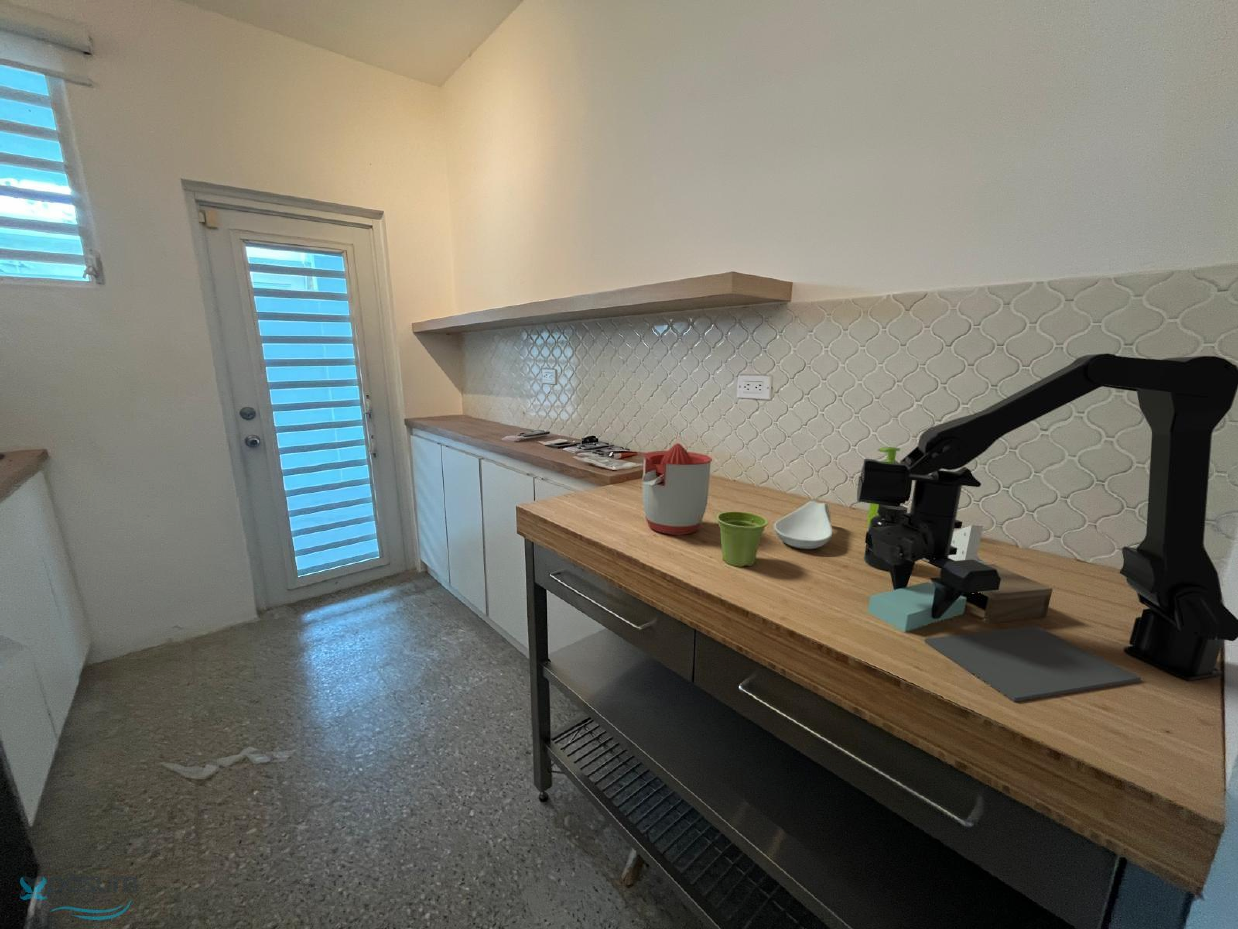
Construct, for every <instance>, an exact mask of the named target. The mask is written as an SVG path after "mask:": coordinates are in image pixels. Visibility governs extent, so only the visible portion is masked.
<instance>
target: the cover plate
mask: <svg viewBox="0 0 1238 929" xmlns="http://www.w3.org/2000/svg"><path fill="white" fill-rule="evenodd" d="M934 592H935V586H934V584H933V583H932V582H930V581H926V582H922V583H918V584H914V585H910V586H907V587H904V588H900V589H896V590H894V589H893V590H888V591H884V592H881V593H875V594H873V595H869V603H868V608H867V613H869V614H871V615H873V616H875V617H877V618H878V619H879V620H882V621H884V622H885V623H887V624H889V625H891V626H893V627H894V628H896V629H899V630H900V631H902V632H904V633H907V632H909V631H913V630H916V629H920V628H923V627H926V626H929V625H928V624H930V623H933V624H936V623H938V622H937V621H939V622H941V621H940V620H943V619H946V620H948V619H947V618H949V619H951V618H950V617H952V618H954V617H953V616H956V617H958V616H957V615H959V616H961V615H960V614H962V615H964V614H965V610H966V603H967V598H968V597H966V596H964V595H961V596H960V597H959V598H958V599H957V600H956V601H955V602H954V603H953V604H952V605H951V606H950V607H949V609H948V610H947V611H946V612H945V613H944V614H943V615H942V616H941V617H940V618H939V619H933V618H932V605H933V599H934ZM963 613H964V614H963ZM943 621H944V620H943ZM935 622H936V623H935ZM930 625H931V624H930ZM922 626H923V627H922ZM919 627H920V628H919Z"/></svg>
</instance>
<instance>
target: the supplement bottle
mask: <svg viewBox="0 0 1238 929" xmlns="http://www.w3.org/2000/svg"><path fill="white" fill-rule="evenodd" d="M903 513H908V508H907V507H906V506H903V505H902V504H900V506H899V507H896V506H888V505H880V504H879V506H878V510H877V514H878V516H875V517H873V518H872V519H871V520H870V524H869V528H868V530H869V529H870V528H871V527H886V526H897V525H899V523H900V520H901V516H903ZM863 559H864V562H865V563H866V564H867V565H869V567H873V568H876V569H879V570H881V571H887V572H890V571H889V568H888V564H887V562H886V561H885V560H884V559H883V558H881V557H877V556H876V555H875V554H874V548H873V547H872V546H870V545H868V544H866V543H865V549H864V555H863Z"/></svg>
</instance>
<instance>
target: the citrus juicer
mask: <svg viewBox="0 0 1238 929" xmlns="http://www.w3.org/2000/svg"><path fill="white" fill-rule="evenodd" d="M642 458H643V473H642V478H641V482H642V506H643V510H644V514H645V519H646V522H647V524H648V527H649V528H650V529H652V530H654V531H655V532H658V533H663V534H669V535H672V536H679V535H688V534H692V533H695V532H697V531H698V530H699V528H700V526H701V525H702V521H703V518H704V515H705V513H706V510H707V506H708V499H709V487H710V475H711V474H710V473H711V463H712V461H713V459H712V458H711V457H710V456H709V455H707V454H702V453H697V452H690V451H687V450H686V449H685V447H683V445H682V444H680V443H676V444H675V443H674V445H673V446H671V447H670V449H669V450H656V451H648V452H645V453H643V455H642Z"/></svg>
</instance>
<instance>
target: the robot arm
mask: <svg viewBox="0 0 1238 929" xmlns="http://www.w3.org/2000/svg"><path fill="white" fill-rule="evenodd" d="M1101 387H1104V388H1110V389H1116V390H1122V391H1130V392H1131V391H1132V392H1136V395H1137V400H1138V405H1139V409H1140V411H1141V413H1142V415H1143V416H1144V419H1145V420H1146V422H1147V423H1148V425H1149V428H1150V430H1151V441H1150V442H1151V446H1150V463H1149V478H1148V480H1149V482H1148V496H1147V512H1146V513H1147V514H1146V516H1147V517H1146V530H1145V531H1146V533H1145V537H1144V539H1143V540H1142V541H1141V542H1140V543H1139V544H1138V545H1137V547H1130V546H1122V549H1121V552H1122V553H1121V554H1122V559H1123V562H1122V563H1123V564H1122V568H1120V570H1119V574H1120V575H1121V576H1122V577H1125V579H1126V583H1127V585H1128V586H1129V587H1130V588H1131V589H1133V591H1135V592H1136V594H1137V599H1138V602H1139V603H1140V604H1141V605H1144V606H1146V607H1147V608H1144V609H1142V612H1141V616H1137V617H1135V620H1134V623H1133V627H1132V630H1131V634H1130V637H1129V640H1128V644H1129V645H1130V646H1129V645H1128V646H1124V647H1123V649H1122V650H1123V651H1124V652H1125V653H1126V654H1129V655H1131V656H1132V657H1135V658H1138V659H1140V660H1142V661H1144V662H1146V663H1149V664H1151V665H1153V666H1155V667H1156V668H1159V669H1161V670H1164V671H1165V672H1168V673H1169V674H1172V675H1174V676H1176V677H1178V678H1181V679H1182V680H1186V681H1194V680H1199V679H1206V678H1211V677H1212V678H1213V677H1218V676H1221V675H1222V673H1223V672H1222V670H1220V669H1218V668H1217V667H1216V664H1217V661H1218V657H1219V656H1220V651H1221V649H1222V646H1223V643H1224V641H1230V642H1234V641H1236V640H1237V639H1238V618H1237V617H1236V616H1235V615H1234V614H1233V613H1232V612H1231V611H1230V610H1229V609H1228V608H1227V607H1226V606H1225V605H1224V604H1223V603H1222V600H1223V594H1222V588H1221V582H1220V578H1219V573H1218V571H1217V569H1216V567H1215V565H1214V563H1213V561H1212V559H1211V558H1210V555H1209V553H1208V552H1207V550H1206V547H1205V532H1206V530H1205V529H1206V518H1207V517H1206V516H1207V507H1208V506H1207V505H1208V492H1209V490H1208V489H1209V477H1210V467H1211V466H1210V465H1211V450H1212V441H1213V440H1212V437H1213V433H1214V431H1215V428H1216V427H1217V426H1218V425H1219V424H1220V423H1221V422H1222V420H1223V418H1224V417H1225V416H1226V415H1227V414H1228V412H1230V410H1231V408H1233V404H1234V401H1235V397H1236V394H1237V392H1238V365H1236V364H1234V363H1232V362H1231V361H1229V360H1227V359H1226V358H1223V357H1219V356H1216V355H1200V356H1199V355H1195V356H1180V357H1179V356H1177V357H1168V358H1167V357H1166V358H1161V359H1156V358H1142V357H1130V356H1120V355H1116V354H1112V353H1108V352H1107V353H1097V354H1096V353H1095V354H1086V355H1083V356H1080V357H1077V358H1076V359H1075V360H1074V361H1073V362H1071V363H1070V364H1068V365H1066V366H1064V367H1063V368H1061V369H1059V370H1057V371H1055V372H1053V373H1051V374H1050V375H1048V376H1045V377H1043V378H1042V379H1040V380H1038V381H1036V382H1034V383H1032V384H1030V385H1029V386H1027V387H1025V388H1022V389H1021V390H1019V391H1017V392H1015V393H1014V394H1011V395H1009V396H1007V397H1006V398H1003V399H1001V400H1000V401H997V403H996V402H995V403H994V404H992V405H990V406H988V407H986V408H985V409H983V410H981V411H977V412H975V413H972V414H969V415H965V416H961V417H958V418H954V419H951V420H949V421H946V422H943V423H940V424H937V425H934V426H932V427H929V428H928V429H926V430H925V431H924V432H922V433H921V435H920V437H919V441H918V442H917V446H916V447H915V448H914V449H912V450H911V451H910V452H909V453H908V454H907V455H905V456H904V457H903V458H902V459H901V460H900V461H899V463H893V462H882V461H883V460H882V461H881V460H878V459H877V460H876V459H872V458H865V459H864V460H863V465H862V468H861V472H860V475H859V476H858V481H857V482H858V483H857V489H856V501H857V502H858V503H864V504H865V503H866V504H870V503H872V504H880V505H888V506H896V507H899V506H900V505H902V504H906V502H909V500H910V497H911V495H912V498H911V504H910V510H909V512H907V513H903V516H901V520H900V523H899V525H897V526H886V527H871V528H870V529H869V528H868V530H867V531H866V532H865V540H864V543H865V545H866V544H868V545H870V546H872V547H873V548H874V554H875V555H876V556H877V557H881V558H883V559H884V560H885V561H886V562H887V564H888V568H889V571H888V572H889V575H890V579H891V584H892V588H893V590H896V589H900V588H904V587H908V585H909V581H910V578H911V576H912V572H913V569H914V566H915V563H916V562H918V561H923V562H925V563H927V564H929V565H932V566H934V567H936V568H938V569H939V570H940V573H939V576H937V577H930V578H929V579H930V581H931V583H932V584H934V586H935V592H934V599H933V605H932V618H933V619H939V618H940V617H941V616H942V615H943V614H944V613H945V612H946V611H947V610H948V609H949V607H950V606H951V605H952V604H953V603H954V602H955V601H956V600H957V599H958V598H959V597H960V596H963V595H962V594H964V593H965V592H968V593H971V592H981V591H992V590H999V586H1000V581H1001V576H1000V574H999V572H998V571H997V569H994V568H992V567H990V566H987V565H988V564H987V565H985V564H982V563H980V562H978V561H975V560H959V561H954V560H952V559H950V558H948V557H949V555H956V553H957V548H955V547H953V546H951V542H952V537H953V532H954V531H955V530H956V529H957V530H959V529H962V525H963V521H961V520H958V519H957V515H958V510H959V504H960V498H961V494H962V489H963V487H972V488H980V487H981V486H982V483H981V482H980V481H979V480H978V479H976V477H975V476H974V474H973V473H972V471H971V469H969V468H968V467H966V465H968V464H969V463H971V462H972V461H973V460H976V458H978V457H979V456H981V455H982V454H983V453H985V452H986V451H987V450H988V449H989V448H991V446H993V444H994V443H995V442H996V441H998V440H999V439H1001V438H1002V437H1003V436H1005V435H1006V434H1009V433H1010V432H1011V433H1012V432H1013V431H1014V430H1016V429H1019V428H1021V427H1023V426H1025V425H1027V424H1029V423H1031V422H1033V421H1034V420H1037V419H1039V418H1041V417H1043V416H1045V415H1048V414H1049V413H1051V412H1053V411H1055V410H1057V409H1060V408H1061V407H1064V406H1065V405H1067V404H1069V403H1071V402H1073V401H1075V400H1078V399H1079V398H1081V397H1083V396H1085V395H1087V394H1089V393H1091V392H1093V391H1095V390H1097V389H1100V388H1101ZM957 469H958V470H957ZM953 470H954V471H953ZM913 481H914V487H913V486H912V485H913ZM912 487H913V488H912ZM912 489H913V491H912ZM940 576H941V577H940ZM1215 667H1216V668H1215Z"/></svg>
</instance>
